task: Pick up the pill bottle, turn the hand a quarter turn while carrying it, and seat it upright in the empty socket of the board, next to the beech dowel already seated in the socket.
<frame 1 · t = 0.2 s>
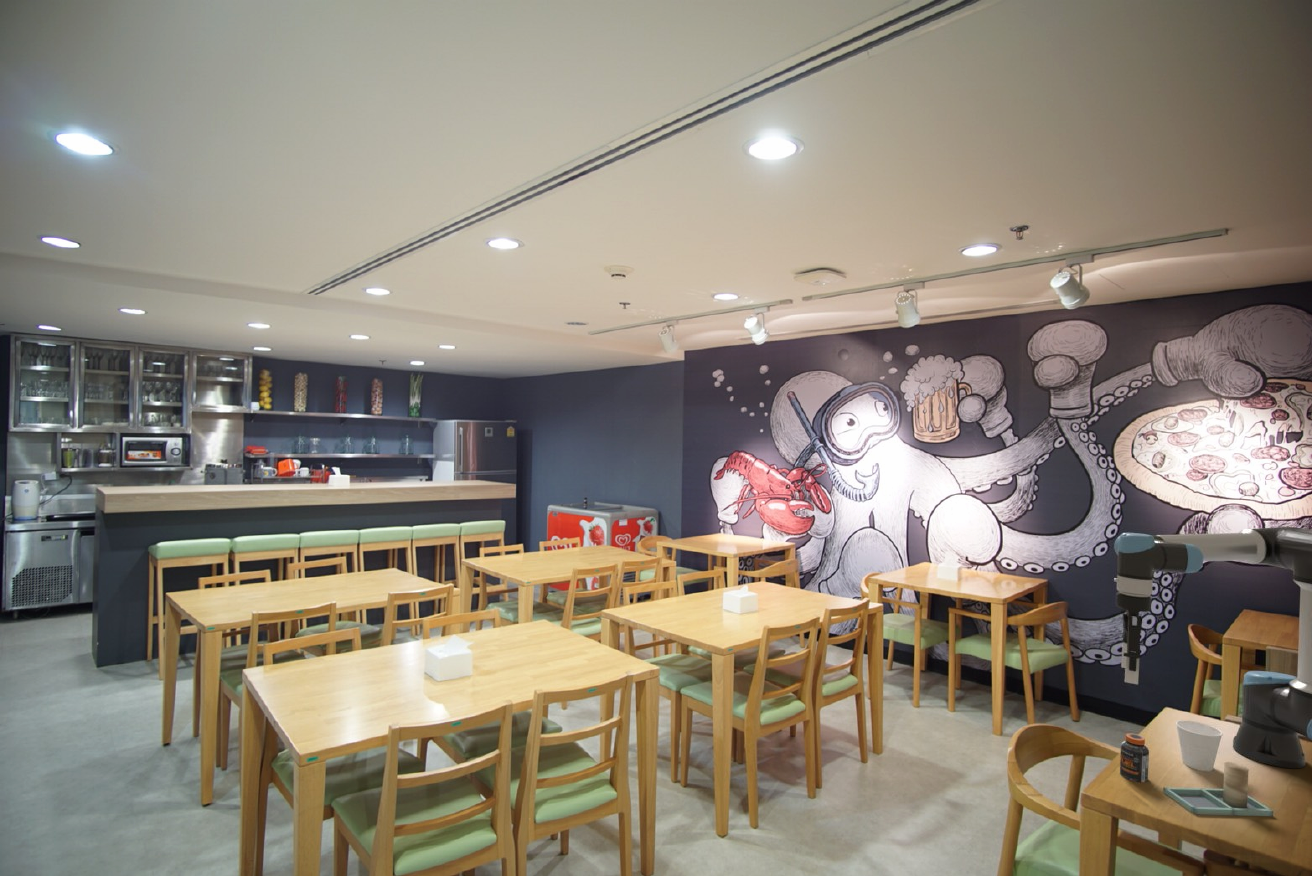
hand: (1129, 675, 178), 26 cm above the table, fingers open, 13 cm apart
pill bottle: (1133, 780, 176), on the table
cup: (1197, 769, 183), on the table
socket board: (1216, 807, 164), on the table
beech dowel: (1234, 804, 164), point 1 cm above the table, touching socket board
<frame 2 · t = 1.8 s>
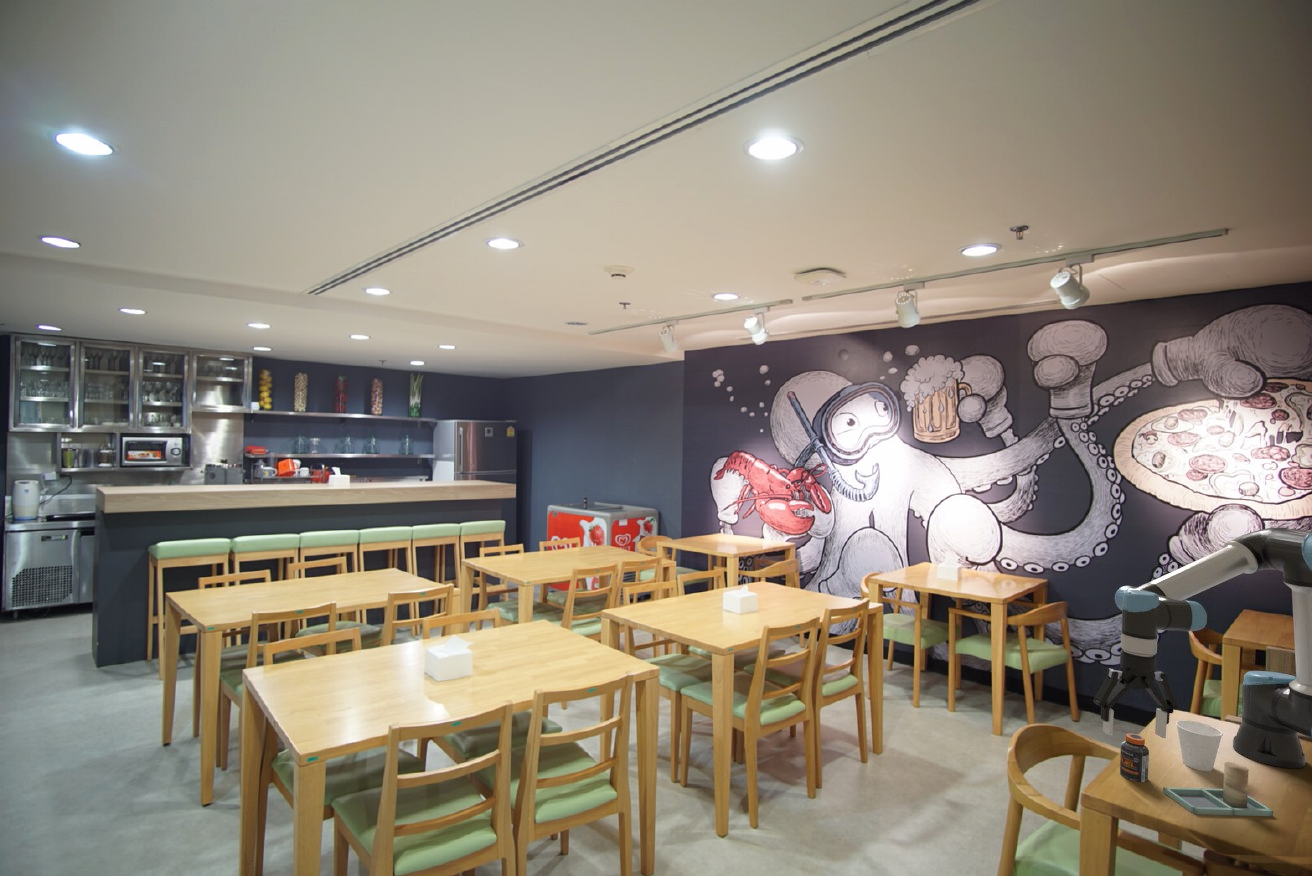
hand: (1133, 734, 176), 12 cm above the table, fingers open, 13 cm apart
nothing on the table moved.
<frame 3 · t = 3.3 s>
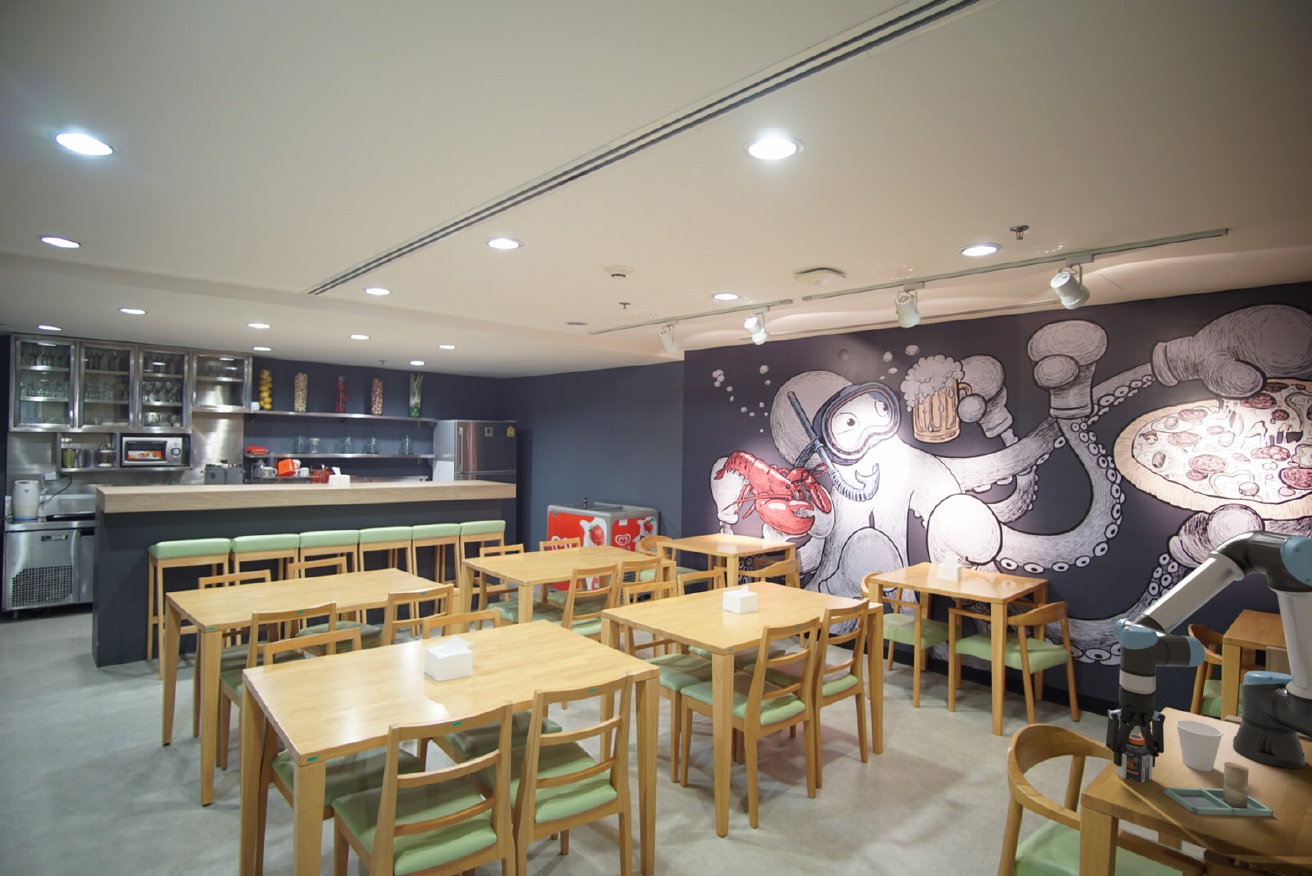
hand: (1133, 778, 176), 0 cm above the table, fingers closed on pill bottle, 6 cm apart
pill bottle: (1133, 780, 176), on the table, touching gripper
everything else where it was.
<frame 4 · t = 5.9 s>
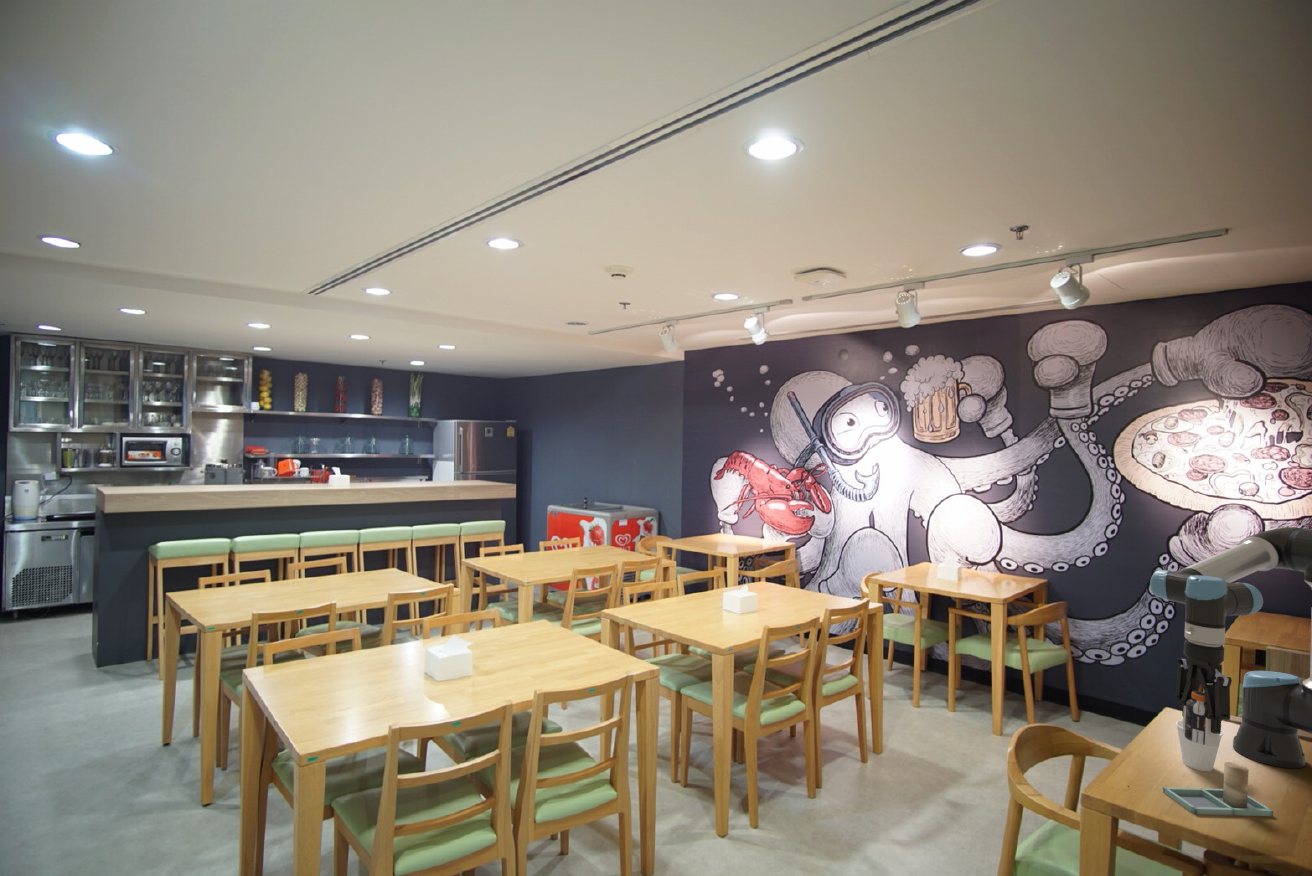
hand: (1200, 738, 163), 16 cm above the table, fingers closed on pill bottle, 6 cm apart
pill bottle: (1200, 741, 163), point 16 cm above the table, touching gripper
everything else where it was.
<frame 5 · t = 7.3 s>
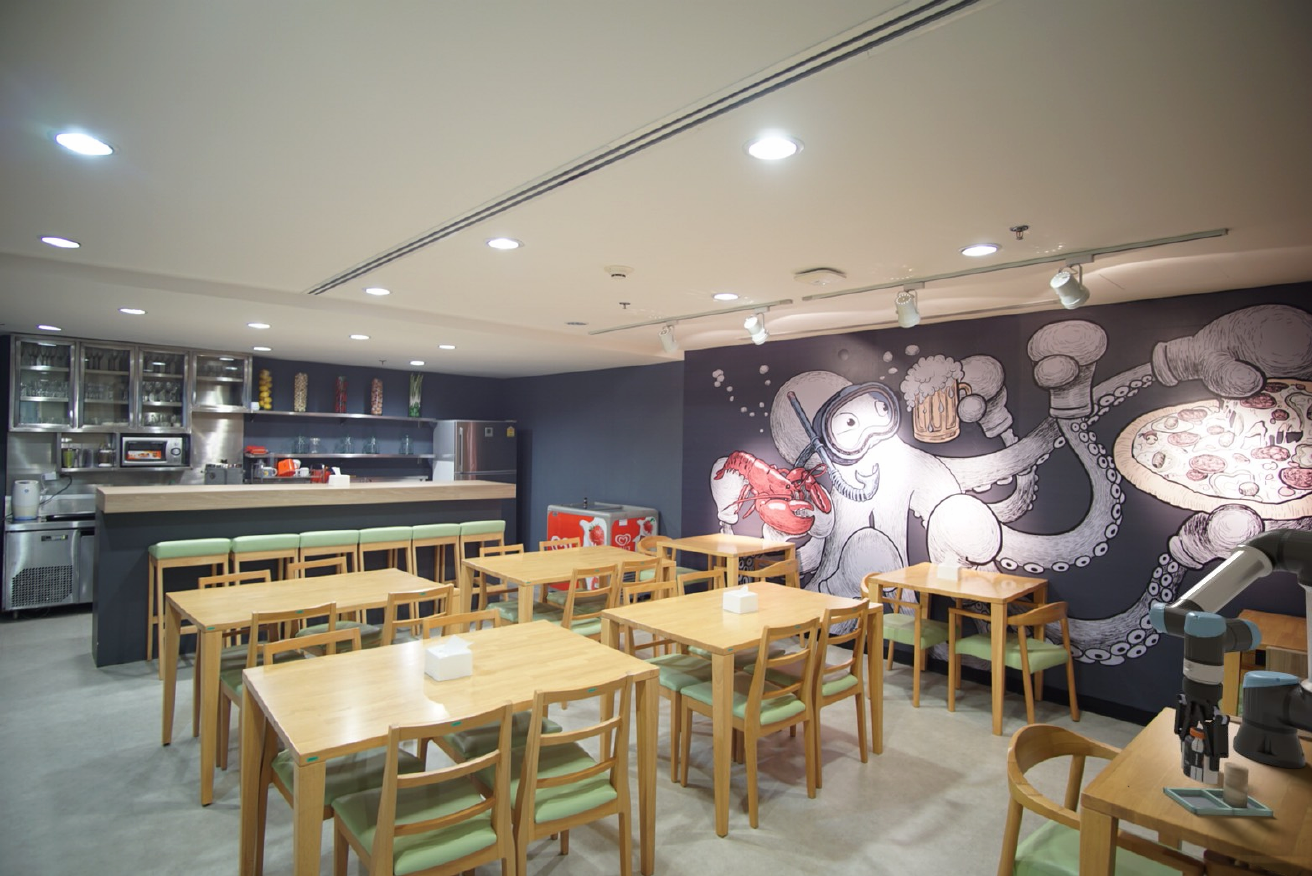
hand: (1198, 775, 163), 8 cm above the table, fingers closed on pill bottle, 6 cm apart
pill bottle: (1198, 778, 163), point 7 cm above the table, touching gripper
everything else where it was.
when the fingers open (3 cm above the table, at t = 8.5 s): pill bottle drops 2 cm, resting on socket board.
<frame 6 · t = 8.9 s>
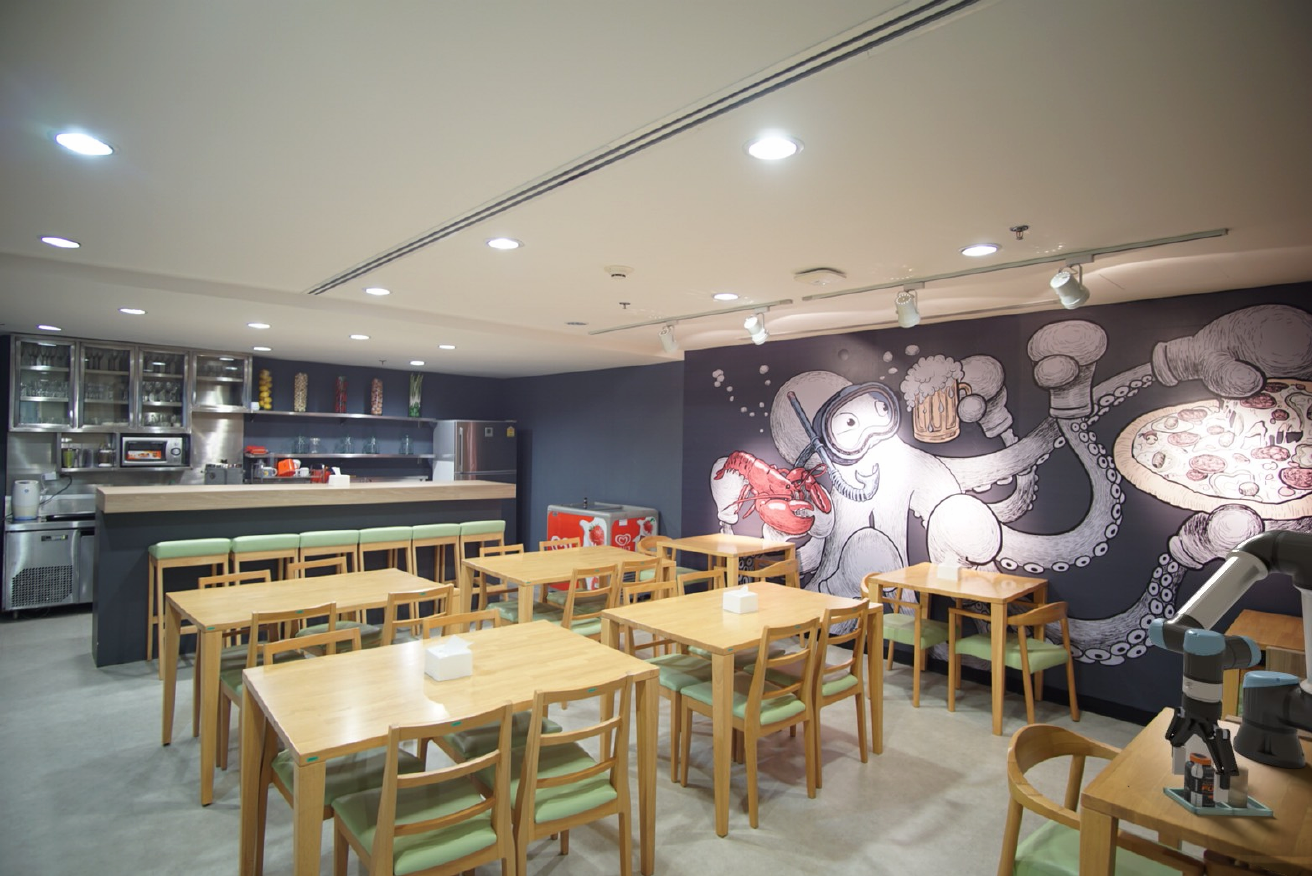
hand: (1198, 787, 163), 5 cm above the table, fingers open, 12 cm apart
pill bottle: (1199, 804, 163), point 1 cm above the table, touching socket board
everything else where it was.
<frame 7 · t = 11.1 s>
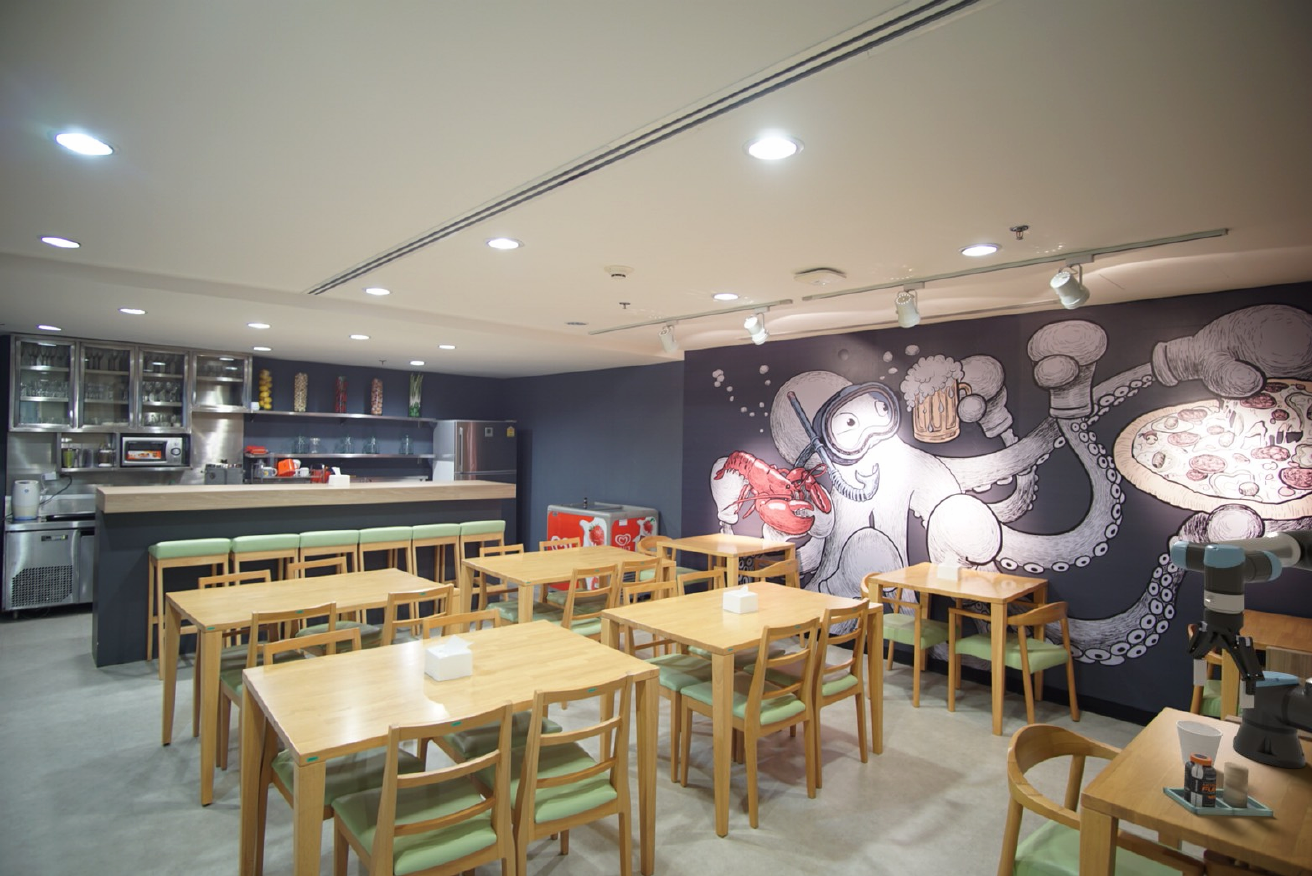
hand: (1222, 696, 167), 25 cm above the table, fingers open, 13 cm apart
nothing on the table moved.
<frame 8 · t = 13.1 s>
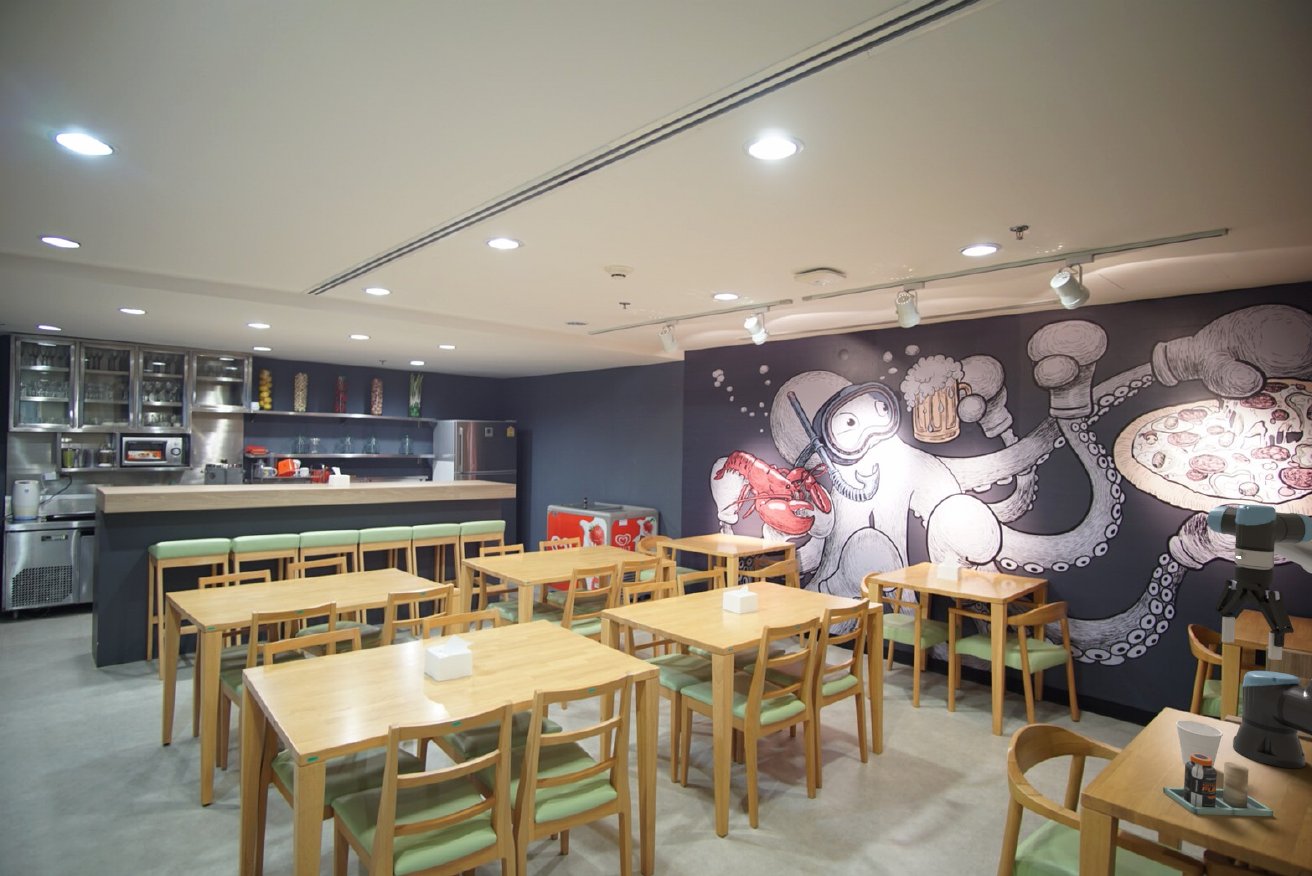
hand: (1250, 650, 174), 35 cm above the table, fingers open, 13 cm apart
nothing on the table moved.
at the end: pill bottle 0.2 cm from the target spot on the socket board, point 0.8 cm above the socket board's base; pill bottle tilted 0°; the gripper is holding nothing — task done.
